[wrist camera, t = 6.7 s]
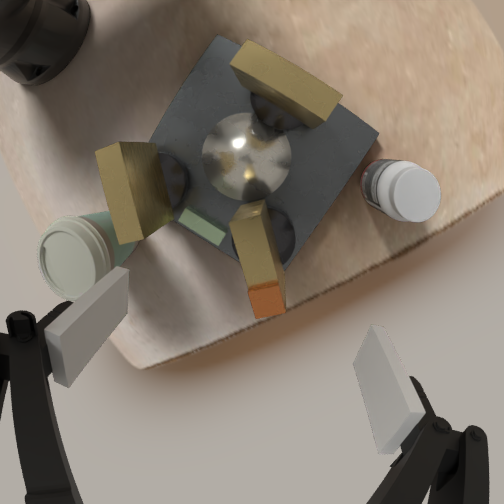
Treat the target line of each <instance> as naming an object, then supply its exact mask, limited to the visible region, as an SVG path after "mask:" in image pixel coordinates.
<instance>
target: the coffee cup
mask: <svg viewBox="0 0 504 504" xmlns="http://www.w3.org/2000/svg"><path fill="white" fill-rule="evenodd" d="M138 242H139V240H138V241H134V242H130V243H125V244H121V245H119V242H118V239H117V235H116V232H115V229H114V225H113V222H112V218H111V215H110V211H106V212H100V213H94V214H89V215H83V216H78V217H76V216H64V217H61V218H59V219H57V220H56V221H54V222H53V223H52V224H51V225H50V226H49V227H48V228H47V230H46V231H45V232H44V234H43V235H42V236H41V238H40V241H39V244H38V248H37V260H38V266H39V269H40V272H41V275H42V277H43V279H44V280H45V282H46V284H47V285H48V286H49V287H50V289H51V290H52V291H53V292H54V293H56V294H57V295H58V296H60V297H61V298H63V299H66V300H69V301H76V300H77V299H78V298H80V297H81V296H82V295H83V294H84V293H85V292H87V291H88V290H89V289H90V288H91V287H92V286H94V285H95V284H96V283H97V282H98V281H99V280H101V279H102V278H103V277H104V276H105V275H107V274H108V273H109V272H110V271H111V270H113V269H114V268H115V267H116V266H119V267H120V266H121V264H122V263H123V262H124V261H125V260H126V259H127V258H128V256H129V255H130V254H131V253H132V252H133V251H134V249H135V248H136V247H137V245H138Z"/></svg>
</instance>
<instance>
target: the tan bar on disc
mask: <svg viewBox="0 0 504 504" xmlns="http://www.w3.org/2000/svg"><path fill="white" fill-rule="evenodd" d="M229 226H230V229H231V233H232V247H233V250H234V253H235V254H236V256H237V257H238V259H239V260H240V263H241V266H242V269H243V273H244V276H245V279H246V283H247V286H248V295H249V298H250V301H251V305H252V308H253V311H254V314H255V318H256V319H259V318H263V317H268V316H273V315H278V314H283V313H286V294H285V274H284V270H283V266H282V265H283V264H285V263H286V262H287V261H288V260H289V258H290V257H291V255H292V254H293V251H294V248H295V243H296V237H295V232H294V227H293V224H292V222H291V220H290V219H289V218H288V216H287V215H286V214H285V213H284V212H282V211H281V210H279V209H277V208H275V207H271V206H267V205H266V202H265V199H263V200H259V201H255V202H251V203H247V204H244V205H241V206H240V207H239V209H238V210H237V212H236V213H235V214H234V216H233V217H232V219H231V220H230V222H229Z"/></svg>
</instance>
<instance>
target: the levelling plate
mask: <svg viewBox="0 0 504 504" xmlns="http://www.w3.org/2000/svg"><path fill="white" fill-rule="evenodd" d="M241 47H242V46H241V45H239V44H237V43H235V42H233V41H231V40H228V39H226V38H224V37H222V36H220V35H218V34H217V36H216V37H215V38H214V40H213V41H212V42H211V44H210V45H209V47H208V48H207V49H206V51H205V52H204V54H203V55H202V57H201V58H200V59H199V61H198V62H197V64H196V65H195V67H194V68H193V70H192V71H191V73H190V74H189V76H188V77H187V79H186V80H185V82H184V83H183V85H182V87H181V88H180V90H179V91H178V93H177V95H176V96H175V98H174V99H173V101H172V103H171V104H170V106H169V108H168V109H167V111H166V113H165V114H164V116H163V118H162V119H161V121H160V123H159V125H158V126H157V128H156V130H155V132H154V134H153V135H152V137H151V139H150V141H149V143H156V146H157V150H158V152H165V153H170V154H173V155H174V156H176V157H178V158H179V159H180V160H181V161H182V162H183V163H184V165H185V167H186V169H187V171H188V174H189V189H188V192H187V194H186V196H185V198H184V200H183V201H182V202H181V203H180V204H179V205H178V206H176V207H174V208H173V209H172V210H173V214H174V219H173V221H175V222H176V223H178V224H180V225H181V226H183V227H184V228H186V229H187V230H189V231H191V232H192V233H194V234H195V235H197V236H198V237H200V238H202V239H203V240H205V241H206V242H208V243H210V244H211V245H213V246H214V247H216V248H218V249H219V250H221V251H222V252H224V253H226V254H227V255H229V256H230V257H232V258H234V259H235V260H237V261H238V262H240V260H239V259H238V257H237V256H236V254H235V253H234V250H233V247H232V233H231V229H230V226H229V222H230V220H231V219H232V217H233V216H234V214H235V213H236V212H237V210H238V209H239V207H240V206H241V205H244V204H247V203H251V202H255V201H259V200H263V199H265V202H266V205H267V206H271V207H275V208H277V209H279V210H281V211H282V212H284V213H285V214H286V215H287V216H288V218H289V219H290V220H291V222H292V224H293V227H294V232H295V237H296V243H295V248H294V251H293V254H292V255H291V257H290V258H289V260H288V261H287V262H286V263H285V264H283V265H282V266H283V270H284V271H285V270H286V268H287V267H288V265H289V264H290V263H291V261H292V260H293V258H294V257H295V256H296V254H297V253H298V252H299V250H300V249H301V247H302V246H303V245H304V243H305V242H306V240H307V239H308V238H309V236H310V235H311V233H312V232H313V230H314V229H315V228H316V226H317V225H318V223H319V222H320V220H321V219H322V218H323V216H324V215H325V213H326V212H327V210H328V209H329V208H330V206H331V205H332V203H333V202H334V200H335V199H336V197H337V196H338V195H339V193H340V192H341V190H342V189H343V187H344V186H345V184H346V183H347V181H348V180H349V178H350V177H351V176H352V174H353V173H354V171H355V170H356V168H357V167H358V165H359V164H360V162H361V161H362V159H363V158H364V156H365V155H366V153H367V152H368V150H369V149H370V147H371V146H372V144H373V143H374V141H375V140H376V138H377V137H378V135H379V132H377V131H376V130H375V129H373V128H372V127H371V126H369V125H368V124H367V123H365V122H364V121H363V120H361V119H360V118H359V117H357V116H356V115H355V114H353V113H352V112H350V111H349V110H348V109H346V108H345V107H343V106H342V105H340V104H339V103H338V104H337V105H336V107H335V108H334V109H333V111H332V112H331V114H330V115H329V117H328V118H327V120H326V121H325V122H324V123H322V124H321V125H319V126H318V127H316V128H315V129H311V128H310V127H308V126H307V125H305V124H304V125H302V126H300V127H299V128H296V129H293V130H287V131H283V130H278V129H274V128H271V127H269V126H267V125H266V124H264V123H263V122H262V121H261V120H260V119H259V118H258V117H257V115H256V114H255V112H254V110H253V108H252V105H251V100H250V94H251V91H249V90H248V89H246V88H244V87H242V86H241V84H240V82H239V80H238V79H237V77H236V75H235V73H234V71H233V70H232V68H231V66H230V62H231V61H232V59H233V58H234V57H235V55H236V54H237V52H238V51H239V50H240V48H241Z"/></svg>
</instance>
